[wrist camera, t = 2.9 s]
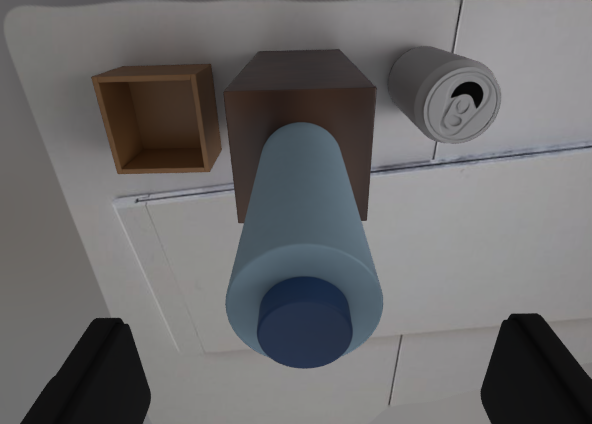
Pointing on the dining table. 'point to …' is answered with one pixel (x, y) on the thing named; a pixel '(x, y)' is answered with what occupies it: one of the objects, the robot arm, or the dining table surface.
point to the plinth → (300, 113)
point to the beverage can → (445, 94)
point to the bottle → (303, 256)
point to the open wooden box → (160, 118)
